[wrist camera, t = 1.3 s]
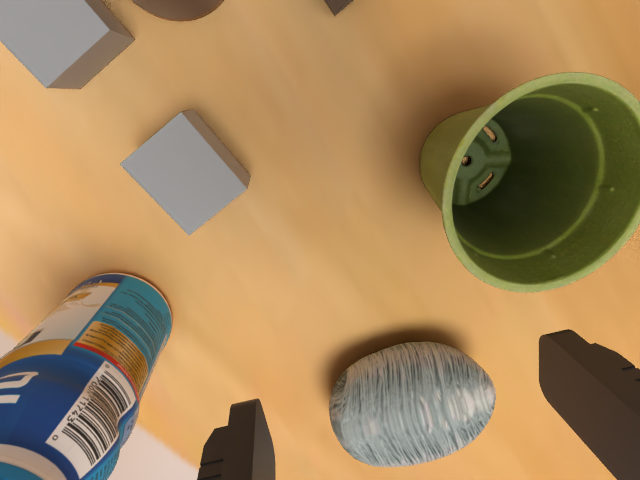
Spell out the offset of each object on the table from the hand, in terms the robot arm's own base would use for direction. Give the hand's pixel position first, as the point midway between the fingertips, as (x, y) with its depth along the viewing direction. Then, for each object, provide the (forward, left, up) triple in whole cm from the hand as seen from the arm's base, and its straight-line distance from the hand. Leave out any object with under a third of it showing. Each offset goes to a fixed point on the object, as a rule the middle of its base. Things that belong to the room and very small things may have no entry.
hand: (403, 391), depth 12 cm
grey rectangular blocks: (+5, -14, -22) cm, 26 cm away
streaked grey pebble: (+4, +17, -22) cm, 29 cm away
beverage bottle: (+18, -3, -22) cm, 29 cm away
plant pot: (-11, +4, -22) cm, 25 cm away
